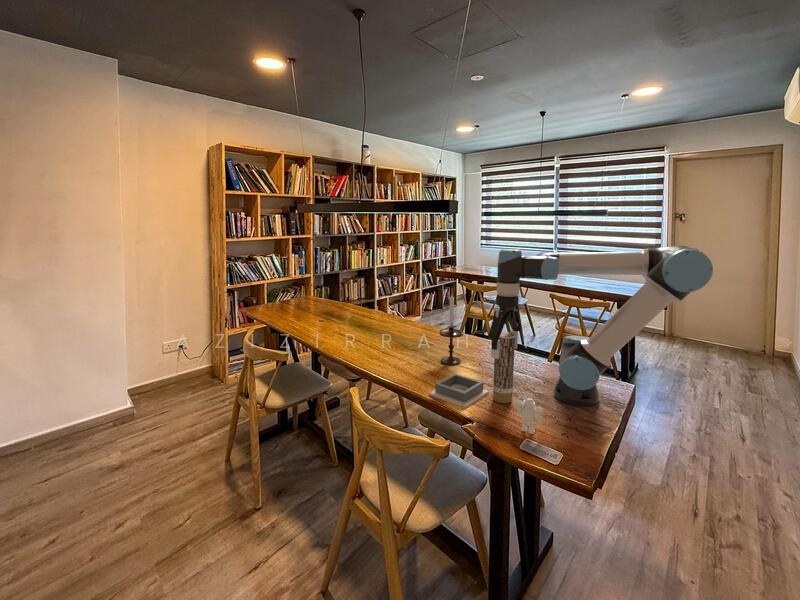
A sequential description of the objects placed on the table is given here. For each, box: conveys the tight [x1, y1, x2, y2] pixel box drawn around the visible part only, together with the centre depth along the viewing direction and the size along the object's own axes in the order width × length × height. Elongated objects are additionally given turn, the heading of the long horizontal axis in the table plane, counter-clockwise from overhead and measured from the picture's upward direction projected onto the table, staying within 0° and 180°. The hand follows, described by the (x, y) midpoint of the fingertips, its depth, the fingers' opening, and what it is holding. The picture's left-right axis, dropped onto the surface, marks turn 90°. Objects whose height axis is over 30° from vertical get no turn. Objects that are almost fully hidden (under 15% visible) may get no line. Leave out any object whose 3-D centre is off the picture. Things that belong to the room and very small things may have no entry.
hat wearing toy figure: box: [514, 393, 545, 435], centre depth 122 cm, size 9×4×12 cm, turn 48°
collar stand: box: [429, 373, 490, 409], centre depth 149 cm, size 16×16×4 cm
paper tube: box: [492, 331, 515, 404], centre depth 142 cm, size 7×7×25 cm
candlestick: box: [439, 287, 464, 366], centre depth 180 cm, size 11×11×35 cm
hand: (504, 352), depth 141 cm, fingers open, 13 cm apart
